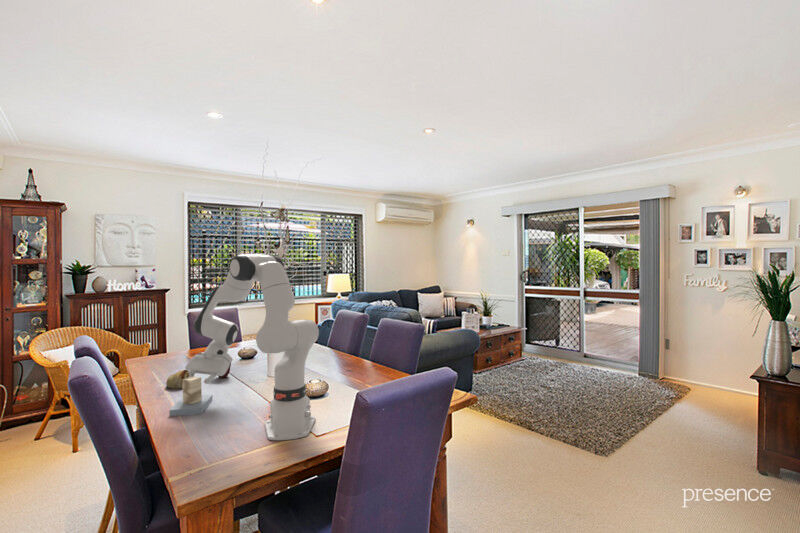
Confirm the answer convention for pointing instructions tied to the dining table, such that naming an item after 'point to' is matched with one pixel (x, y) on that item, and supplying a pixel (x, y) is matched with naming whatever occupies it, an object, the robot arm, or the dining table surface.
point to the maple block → (192, 390)
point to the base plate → (191, 407)
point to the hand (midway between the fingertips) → (197, 382)
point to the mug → (226, 373)
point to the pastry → (177, 379)
